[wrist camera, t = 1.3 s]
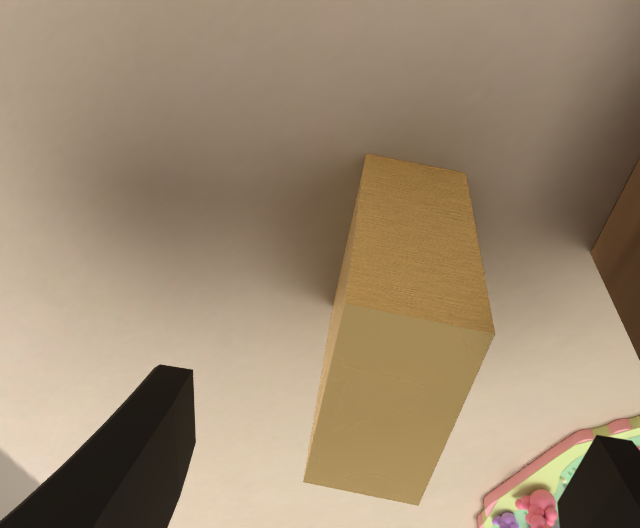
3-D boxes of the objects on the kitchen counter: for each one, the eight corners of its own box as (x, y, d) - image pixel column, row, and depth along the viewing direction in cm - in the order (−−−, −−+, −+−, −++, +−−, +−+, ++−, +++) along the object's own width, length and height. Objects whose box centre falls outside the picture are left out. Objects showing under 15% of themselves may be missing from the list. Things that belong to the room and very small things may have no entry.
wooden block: (465, 172, 14) (494, 333, 9) (415, 322, 17) (418, 505, 12) (366, 153, 14) (345, 303, 10) (333, 306, 17) (303, 481, 12)
